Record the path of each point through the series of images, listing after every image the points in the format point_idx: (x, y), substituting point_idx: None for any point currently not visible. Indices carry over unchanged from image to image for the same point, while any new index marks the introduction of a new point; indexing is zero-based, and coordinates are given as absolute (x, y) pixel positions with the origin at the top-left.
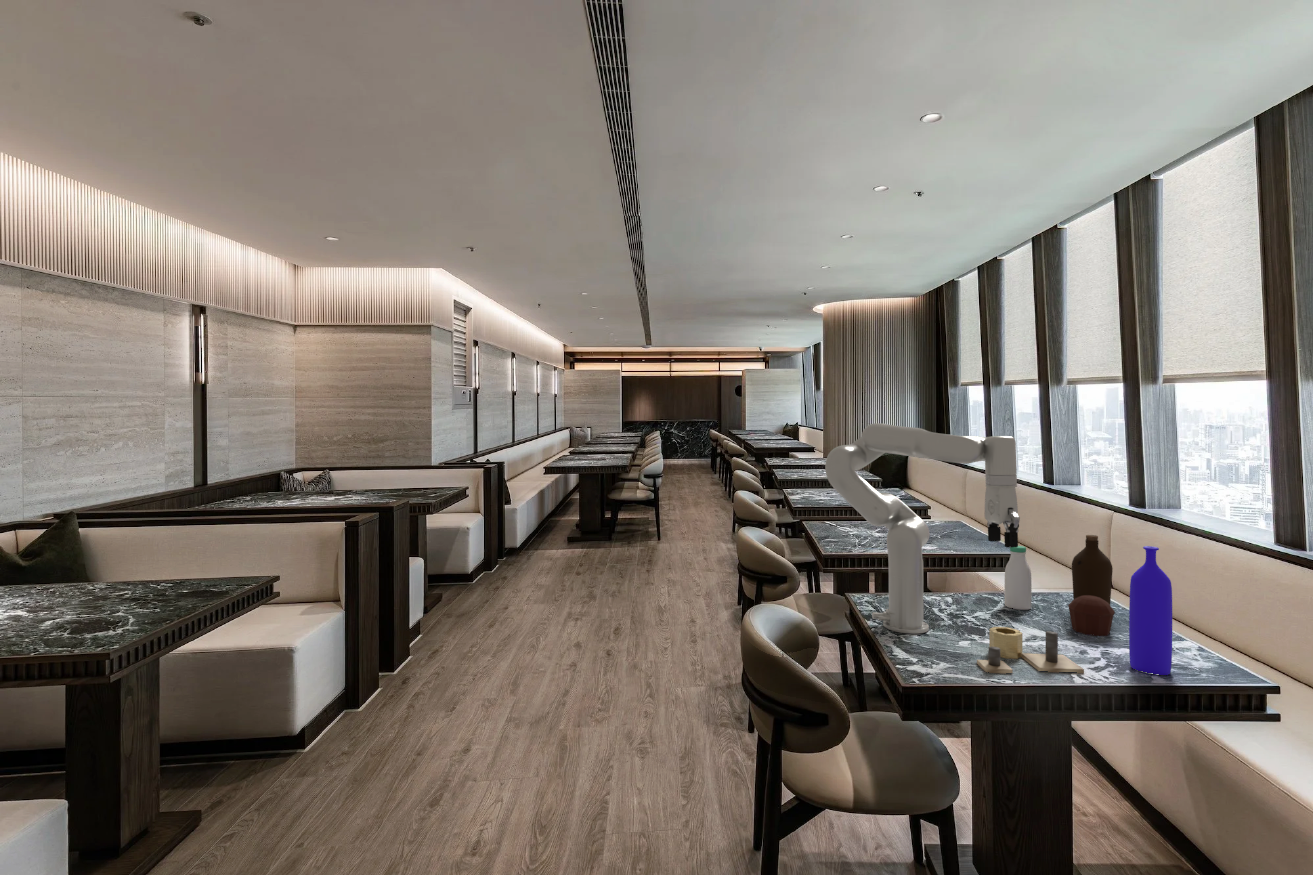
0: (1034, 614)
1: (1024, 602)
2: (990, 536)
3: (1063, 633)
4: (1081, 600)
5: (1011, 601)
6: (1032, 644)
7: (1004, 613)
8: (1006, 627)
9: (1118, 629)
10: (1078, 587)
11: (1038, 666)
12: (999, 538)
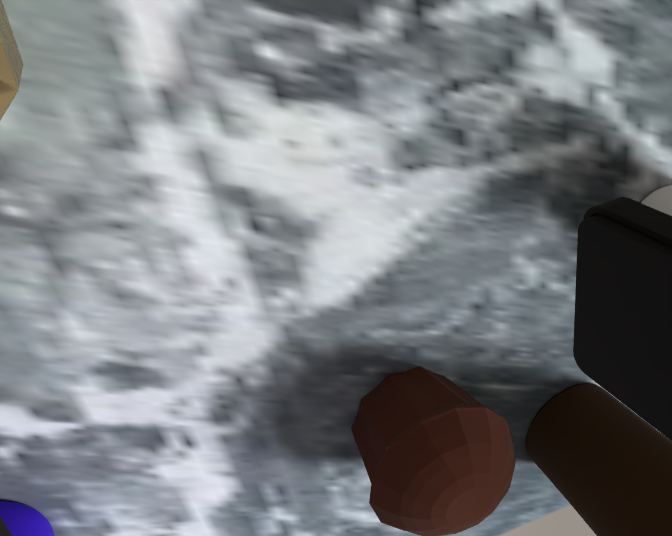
0: (574, 269)
1: None
2: (644, 259)
3: (360, 335)
4: (447, 471)
5: (662, 211)
6: (170, 207)
7: (587, 165)
8: (9, 91)
9: None
10: (631, 459)
11: None
12: (601, 371)
